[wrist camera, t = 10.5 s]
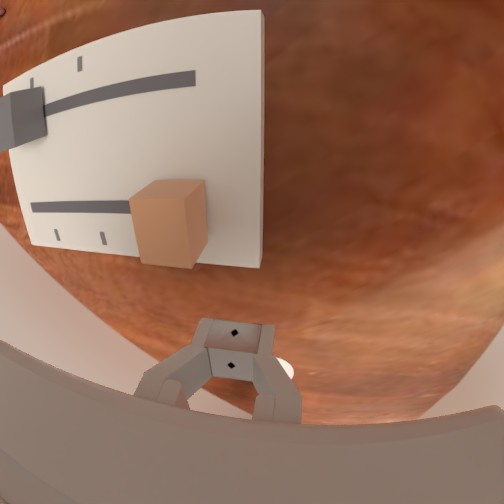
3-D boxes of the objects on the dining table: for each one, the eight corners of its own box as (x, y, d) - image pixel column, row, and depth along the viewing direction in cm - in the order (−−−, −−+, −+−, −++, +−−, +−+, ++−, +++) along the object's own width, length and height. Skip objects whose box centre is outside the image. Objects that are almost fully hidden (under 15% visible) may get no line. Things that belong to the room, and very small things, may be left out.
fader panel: (264, 16, 15) (260, 9, 14) (262, 255, 26) (259, 269, 24) (15, 83, 19) (2, 85, 18) (41, 237, 30) (31, 245, 28)
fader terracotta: (204, 180, 20) (183, 199, 17) (208, 241, 23) (192, 268, 19) (155, 180, 21) (128, 198, 17) (163, 237, 23) (141, 263, 20)
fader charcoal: (41, 86, 17) (10, 92, 14) (45, 136, 20) (15, 147, 16) (19, 96, 18) (-11, 104, 14) (23, 142, 20) (-5, 154, 17)
